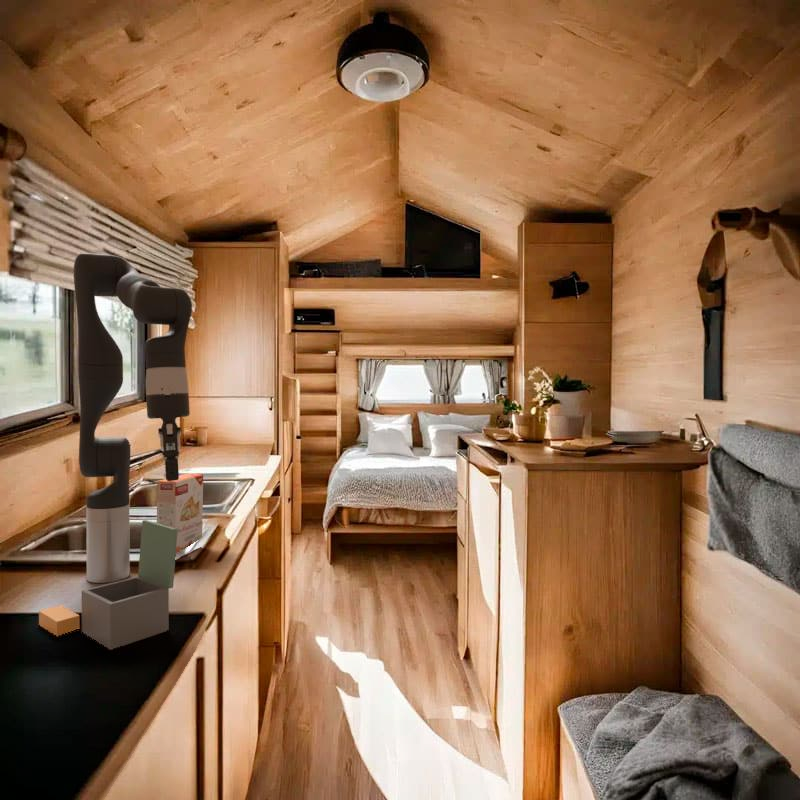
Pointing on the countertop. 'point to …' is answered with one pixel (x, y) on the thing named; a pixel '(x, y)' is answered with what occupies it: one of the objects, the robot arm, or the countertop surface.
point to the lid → (157, 553)
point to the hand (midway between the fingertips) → (172, 478)
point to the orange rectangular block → (59, 620)
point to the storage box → (125, 611)
